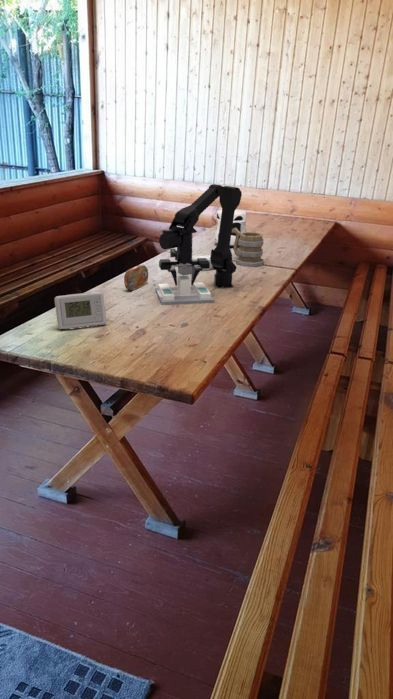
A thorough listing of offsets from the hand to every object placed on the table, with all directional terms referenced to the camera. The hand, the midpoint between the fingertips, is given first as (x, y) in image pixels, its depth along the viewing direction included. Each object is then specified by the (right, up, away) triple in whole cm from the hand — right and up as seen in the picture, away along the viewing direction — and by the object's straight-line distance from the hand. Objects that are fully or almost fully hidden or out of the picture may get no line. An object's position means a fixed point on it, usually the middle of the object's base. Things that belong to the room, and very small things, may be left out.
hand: (184, 285), depth 212 cm
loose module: (0, -3, +1) cm, 3 cm away
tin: (-20, 0, +11) cm, 22 cm away
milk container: (+23, +32, +85) cm, 93 cm away
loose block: (0, +9, +32) cm, 33 cm away
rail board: (0, -4, +2) cm, 4 cm away
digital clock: (-33, -17, -30) cm, 48 cm away
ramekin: (+7, +13, +41) cm, 43 cm away
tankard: (+28, +18, +53) cm, 63 cm away
